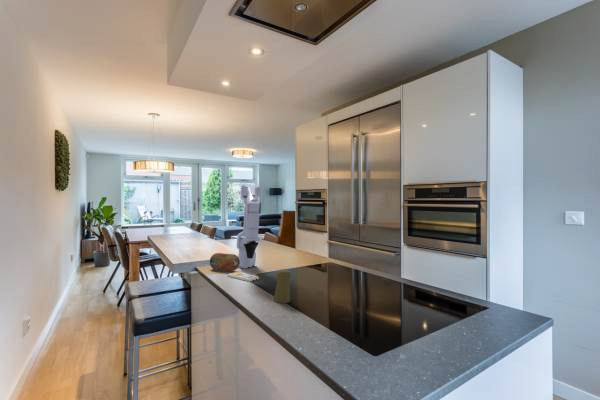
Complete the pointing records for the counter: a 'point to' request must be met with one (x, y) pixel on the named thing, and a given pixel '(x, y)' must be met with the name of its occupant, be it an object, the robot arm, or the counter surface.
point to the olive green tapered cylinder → (283, 287)
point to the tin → (224, 262)
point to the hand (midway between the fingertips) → (249, 258)
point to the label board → (243, 276)
